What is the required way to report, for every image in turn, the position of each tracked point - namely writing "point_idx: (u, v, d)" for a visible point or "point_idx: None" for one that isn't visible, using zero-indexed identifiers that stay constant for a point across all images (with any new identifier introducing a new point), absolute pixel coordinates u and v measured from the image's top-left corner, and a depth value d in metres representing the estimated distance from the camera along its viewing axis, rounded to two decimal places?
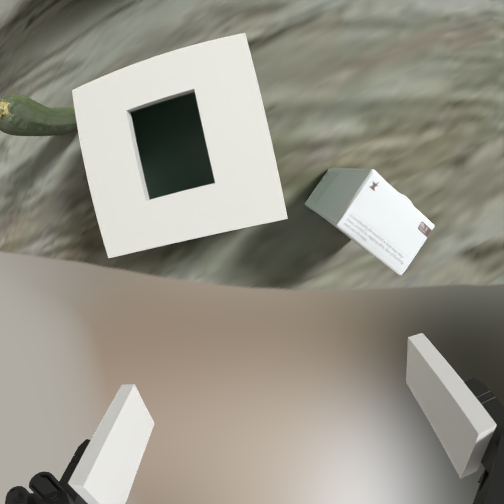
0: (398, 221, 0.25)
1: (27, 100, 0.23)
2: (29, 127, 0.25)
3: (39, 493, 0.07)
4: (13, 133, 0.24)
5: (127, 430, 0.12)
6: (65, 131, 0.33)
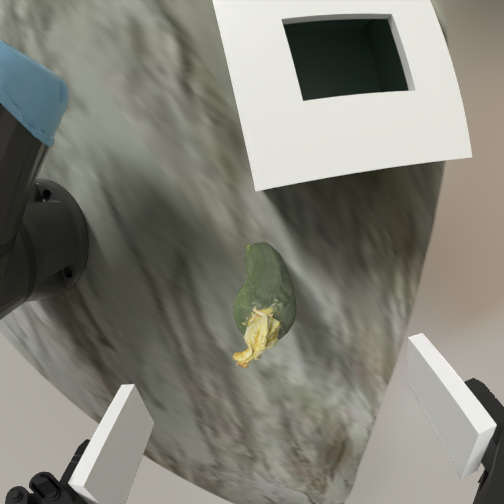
0: None
1: (249, 284, 0.22)
2: (288, 284, 0.23)
3: (39, 493, 0.07)
4: (295, 309, 0.22)
5: (127, 430, 0.12)
6: None
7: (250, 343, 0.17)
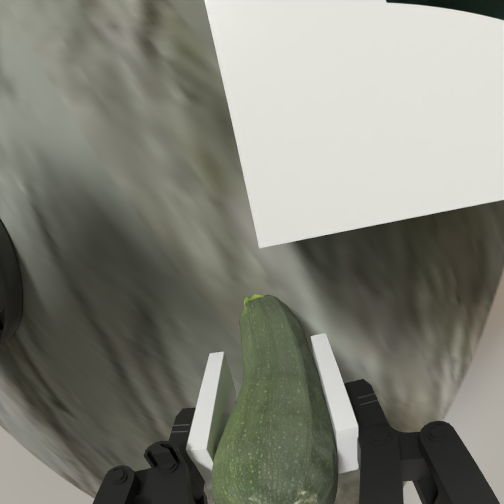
0: None
1: (242, 442, 0.09)
2: (324, 424, 0.10)
3: (153, 462, 0.09)
4: None
5: (224, 395, 0.14)
6: (301, 327, 0.17)
7: None
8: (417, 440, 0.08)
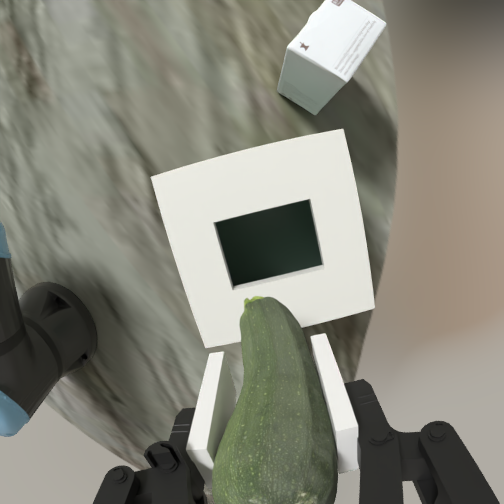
0: (335, 23, 0.21)
1: (243, 445, 0.09)
2: (324, 426, 0.10)
3: (153, 462, 0.09)
4: None
5: (224, 395, 0.14)
6: (301, 329, 0.17)
7: None
8: (417, 440, 0.08)
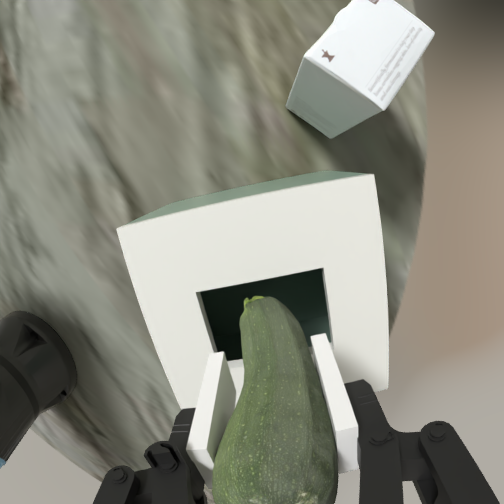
0: (370, 27, 0.15)
1: (243, 444, 0.09)
2: (325, 426, 0.10)
3: (153, 462, 0.09)
4: None
5: (224, 395, 0.14)
6: (301, 329, 0.17)
7: None
8: (417, 440, 0.08)
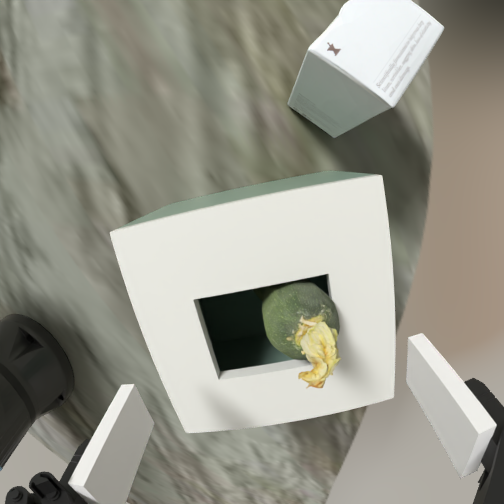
0: (377, 20, 0.14)
1: (283, 293, 0.18)
2: (321, 290, 0.20)
3: (39, 493, 0.07)
4: None
5: (127, 430, 0.12)
6: None
7: (319, 357, 0.13)
8: None
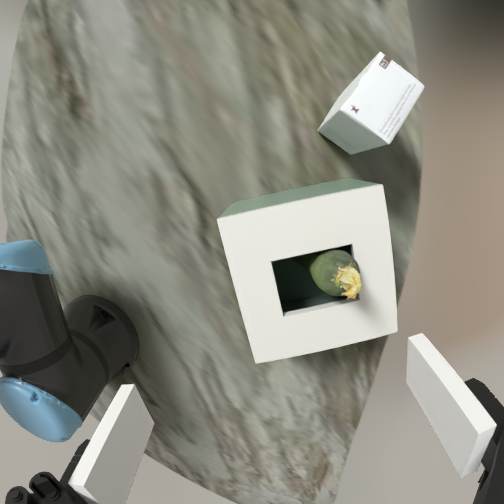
0: (381, 87, 0.25)
1: (326, 255, 0.30)
2: None
3: (39, 493, 0.07)
4: None
5: (127, 430, 0.12)
6: None
7: (352, 283, 0.25)
8: None
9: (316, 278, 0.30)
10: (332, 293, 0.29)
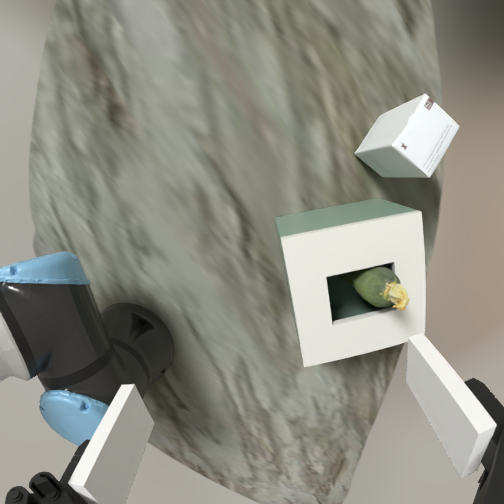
0: (425, 127, 0.29)
1: (373, 271, 0.33)
2: None
3: (39, 493, 0.07)
4: None
5: (127, 430, 0.12)
6: None
7: (401, 297, 0.28)
8: None
9: (364, 291, 0.34)
10: (378, 304, 0.32)
